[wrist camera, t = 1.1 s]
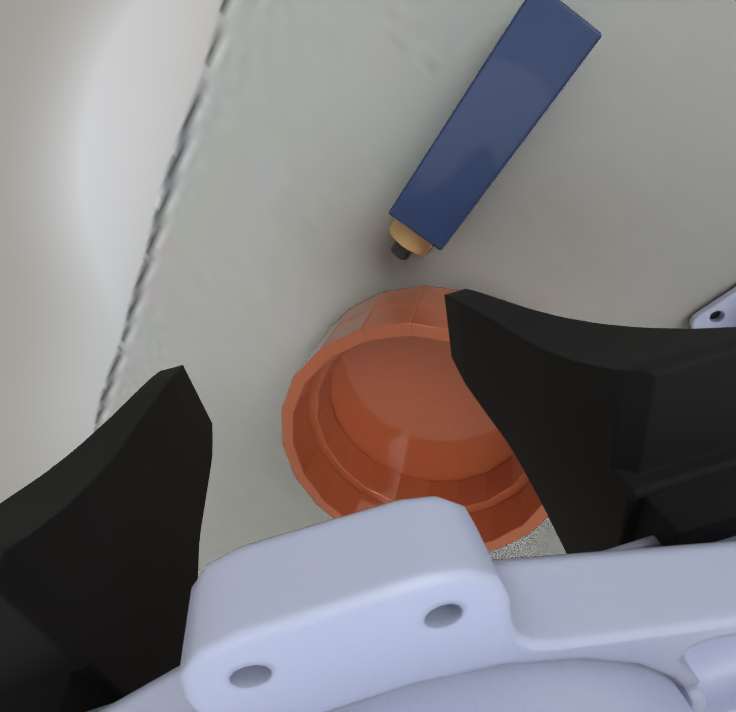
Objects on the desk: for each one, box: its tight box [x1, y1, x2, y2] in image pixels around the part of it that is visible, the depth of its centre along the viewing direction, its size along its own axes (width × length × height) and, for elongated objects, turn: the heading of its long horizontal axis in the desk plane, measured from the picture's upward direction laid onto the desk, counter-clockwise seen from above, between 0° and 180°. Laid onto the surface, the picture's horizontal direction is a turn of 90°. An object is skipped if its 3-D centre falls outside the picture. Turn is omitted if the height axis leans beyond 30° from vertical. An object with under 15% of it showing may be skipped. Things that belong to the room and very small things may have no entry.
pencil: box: [389, 0, 601, 260], centre depth 18 cm, size 10×3×3 cm, turn 148°
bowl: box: [282, 286, 548, 551], centre depth 23 cm, size 13×13×5 cm
